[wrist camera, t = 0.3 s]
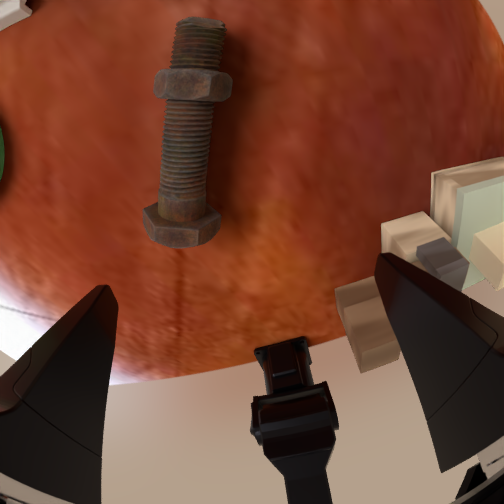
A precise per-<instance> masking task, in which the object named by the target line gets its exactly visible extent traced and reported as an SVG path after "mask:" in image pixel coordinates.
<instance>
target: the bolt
mask: <svg viewBox="0 0 504 504" xmlns="http://www.w3.org/2000/svg"><path fill="white" fill-rule="evenodd" d="M176 25H177V26H178V27H176V28H175V30H177V31H176V32H175V34H176V35H177V36H175V37H174V39H175V41H174V42H173V43H174V44H175V45H174V46H173V47H172V48H173V49H174V50H173V51H172V53H173V54H174V55H172V56H171V58H172V59H173V60H172V61H170V62H171V63H172V65H171V66H169V67H170V68H171V69H162V70H160V71H159V72H158V73H157V74H156V75H155V81H154V90H153V92H154V94H155V95H156V97H157V98H161V99H168V100H167V101H165V102H166V103H167V104H168V105H166V106H165V107H166V108H167V110H166V111H164V112H165V113H166V114H167V115H165V116H164V118H166V120H164V121H163V122H164V123H165V124H166V125H164V126H163V128H165V130H163V133H164V135H163V136H162V138H164V140H162V143H163V145H162V148H163V150H162V153H163V154H162V155H161V157H162V158H163V159H162V160H161V162H162V164H161V170H160V172H161V174H160V177H161V178H160V188H159V191H158V202H157V203H155V204H152V205H150V206H148V207H146V208H144V209H143V224H144V227H145V229H146V232H147V234H148V235H149V237H150V239H151V240H153V241H155V242H157V243H159V244H162V245H164V246H167V247H171V248H187V247H194V246H198V245H202V244H205V243H207V242H208V241H210V240H211V239H212V238H213V237H214V236H215V235H216V233H217V232H218V231H219V229H220V223H221V214H219V213H218V212H217V211H216V210H215V209H213V208H212V207H211V206H210V205H209V204H208V203H206V190H205V189H206V187H205V186H206V176H207V167H208V163H207V162H208V157H209V154H208V153H209V151H210V150H209V149H208V148H209V147H210V145H209V143H210V139H209V138H211V135H210V133H211V132H212V131H211V130H210V128H212V125H211V123H212V122H213V121H212V120H211V118H213V115H211V114H212V113H213V112H214V111H213V110H212V108H214V107H215V106H214V105H213V103H215V102H223V101H225V100H226V99H227V98H229V97H230V96H231V90H232V84H233V80H232V78H231V77H230V76H229V74H227V73H223V72H219V71H218V70H217V69H219V68H220V66H219V65H218V64H220V63H221V62H220V61H219V60H220V59H221V58H222V57H221V56H220V55H221V54H223V53H222V52H221V50H223V49H224V48H223V47H222V45H224V42H222V41H223V40H225V38H224V37H223V36H225V35H226V33H224V32H225V31H227V29H226V28H225V24H224V23H223V22H222V21H220V20H214V19H208V18H200V17H188V18H186V19H182V20H181V21H179V22H178V23H176Z"/></svg>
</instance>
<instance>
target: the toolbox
mask: <svg viewBox="0 0 504 504" xmlns="http://www.w3.org/2000/svg"><path fill="white" fill-rule="evenodd" d="M500 176H504V157H498V158H494V159H489V160H484V161H480V162H475V163H471V164H466V165H462V166H457V167H453V168H449V169H444V170H440V171H436V172H432V173H431V207H430V217H429V216H428V215H427V214H426V213H424V212H423V211H422V212H418V213H415V214H412V215H408V216H405V217H402V218H398V219H395V220H392V221H388V222H385V223H382V224H381V241H382V253H386V252H391V253H393V254H395V255H397V256H398V257H400V258H402V259H404V260H406V261H408V262H409V263H413V262H416V261H418V260H420V262H421V263H422V264H423V265H424V267H425V268H426V269H427V271H428V272H429V273H430V274H431V275H433V276H434V277H436V278H438V279H440V280H441V281H443V282H445V283H447V284H448V285H450V286H452V287H453V288H455V289H457V290H458V291H460V292H461V291H462V288H463V285H464V281H465V277H466V274H467V270H468V266H469V263H468V262H467V261H466V260H465V259H464V258H463V257H462V256H461V254H460V253H459V252H458V251H457V250H456V249H455V248H454V247H453V246H452V245H451V239H452V232H453V225H454V217H455V207H456V196H457V188H461V187H464V186H468V185H471V184H475V183H479V182H482V181H486V180H489V179H493V178H497V177H500Z"/></svg>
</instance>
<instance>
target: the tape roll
mask: <svg viewBox="0 0 504 504" xmlns="http://www.w3.org/2000/svg"><path fill="white" fill-rule="evenodd" d="M3 168H4V141H3V135H2V130H1V127H0V181H1V177H2V173H3Z"/></svg>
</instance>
